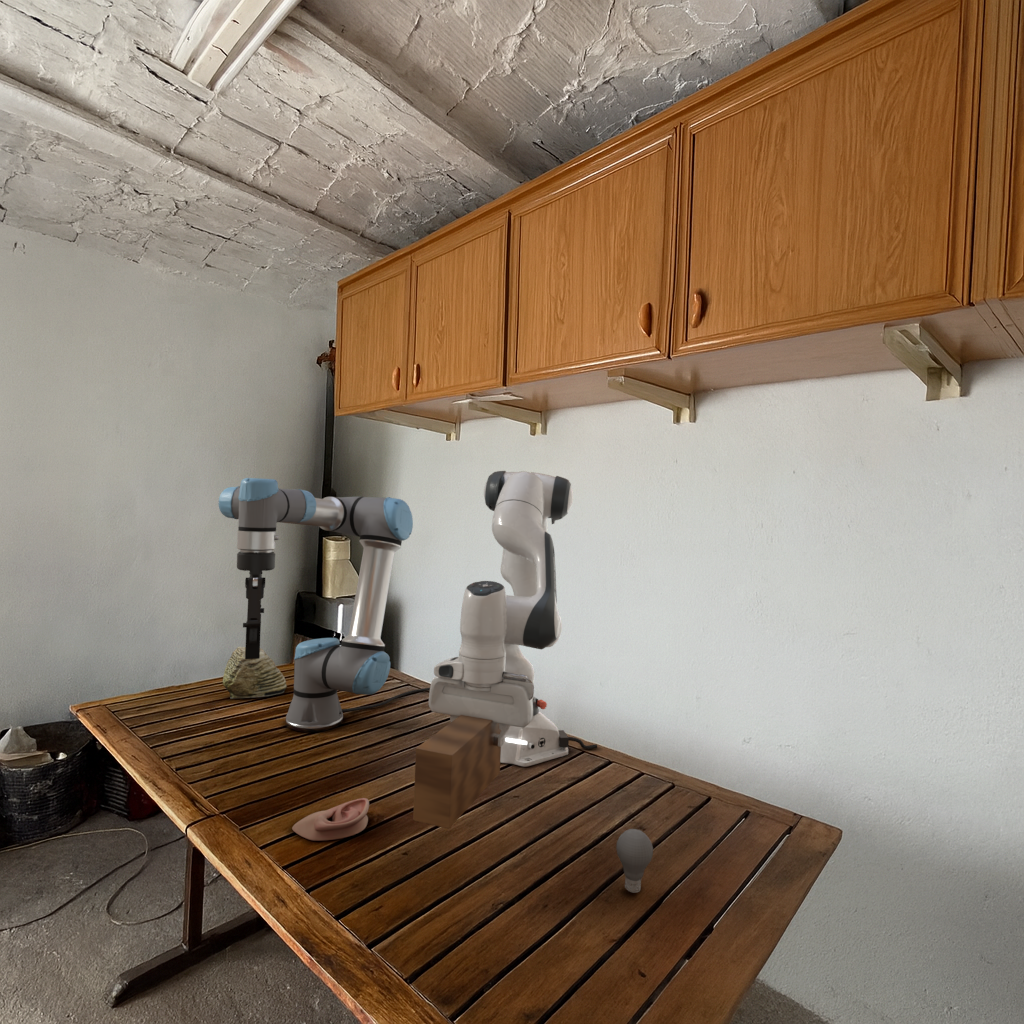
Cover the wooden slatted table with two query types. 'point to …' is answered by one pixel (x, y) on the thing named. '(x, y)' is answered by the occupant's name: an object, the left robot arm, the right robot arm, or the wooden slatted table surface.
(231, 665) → the fossil
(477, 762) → the box
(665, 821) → the wooden slatted table surface
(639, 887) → the light bulb
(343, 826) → the anatomical model
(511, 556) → the right robot arm
